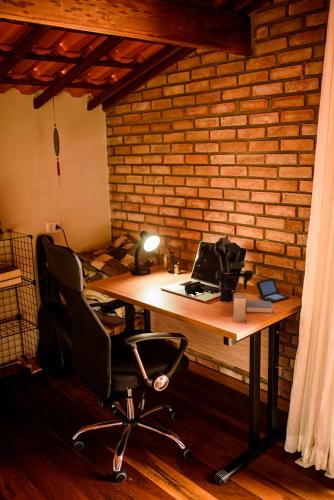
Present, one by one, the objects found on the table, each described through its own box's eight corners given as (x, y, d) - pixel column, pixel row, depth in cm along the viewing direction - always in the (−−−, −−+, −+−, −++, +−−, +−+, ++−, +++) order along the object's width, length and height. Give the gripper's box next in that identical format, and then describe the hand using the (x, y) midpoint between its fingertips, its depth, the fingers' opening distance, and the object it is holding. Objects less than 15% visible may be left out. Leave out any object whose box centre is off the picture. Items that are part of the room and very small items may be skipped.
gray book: (245, 312, 245) (245, 306, 244) (243, 305, 255) (244, 300, 254) (272, 313, 243) (273, 307, 243) (270, 306, 253) (270, 301, 253)
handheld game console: (272, 304, 258) (273, 288, 256) (254, 297, 269) (255, 282, 267) (290, 298, 268) (291, 283, 266) (272, 292, 278) (273, 277, 276)
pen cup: (231, 321, 232) (232, 296, 229) (234, 316, 238) (235, 292, 235) (243, 322, 230) (245, 297, 227) (246, 318, 236) (247, 293, 233)
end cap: (196, 291, 280) (196, 280, 278) (205, 293, 274) (205, 282, 273) (184, 294, 273) (184, 283, 272) (192, 297, 268) (193, 286, 266)
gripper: (217, 255, 239) (221, 282, 231) (253, 255, 241) (258, 282, 232) (214, 266, 249) (217, 292, 240) (248, 266, 250) (253, 292, 242)
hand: (236, 289), depth 238 cm, fingers open, 9 cm apart
